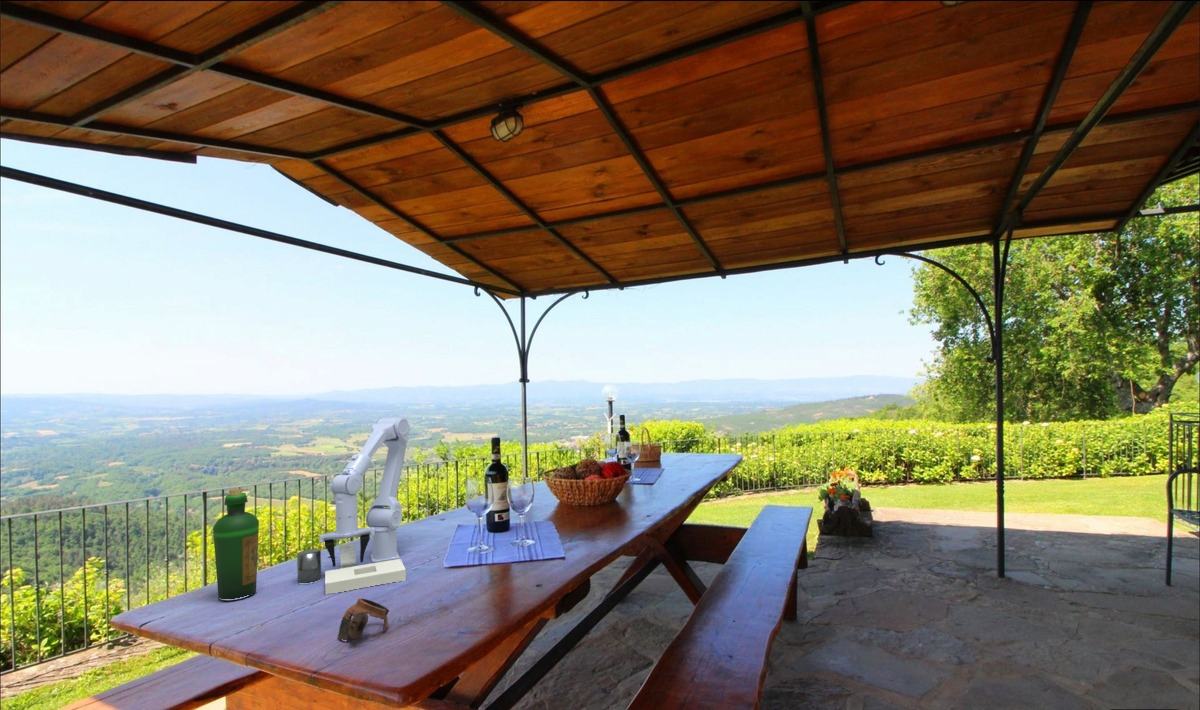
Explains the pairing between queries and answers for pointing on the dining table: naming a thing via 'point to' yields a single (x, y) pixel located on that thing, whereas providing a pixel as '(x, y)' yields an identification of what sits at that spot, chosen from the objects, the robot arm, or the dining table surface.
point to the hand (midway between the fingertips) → (348, 563)
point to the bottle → (236, 548)
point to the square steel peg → (347, 556)
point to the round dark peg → (309, 565)
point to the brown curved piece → (361, 618)
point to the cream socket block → (364, 576)
